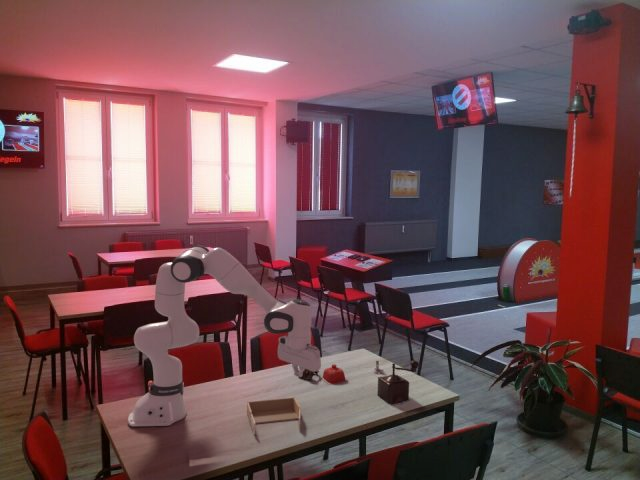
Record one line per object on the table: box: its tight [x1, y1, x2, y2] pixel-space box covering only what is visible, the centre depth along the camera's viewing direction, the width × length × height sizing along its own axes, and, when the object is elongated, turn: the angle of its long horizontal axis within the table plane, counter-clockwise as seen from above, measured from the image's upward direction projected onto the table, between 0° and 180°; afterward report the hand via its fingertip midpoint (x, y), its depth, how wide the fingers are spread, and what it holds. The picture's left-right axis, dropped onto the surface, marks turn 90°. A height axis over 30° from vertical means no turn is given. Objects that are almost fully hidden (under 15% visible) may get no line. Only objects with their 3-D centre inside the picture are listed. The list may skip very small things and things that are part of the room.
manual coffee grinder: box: [377, 360, 420, 405], centre depth 220 cm, size 16×11×18 cm
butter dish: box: [322, 363, 348, 385], centre depth 241 cm, size 12×12×8 cm
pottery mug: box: [297, 369, 319, 381], centre depth 243 cm, size 12×9×8 cm
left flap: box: [249, 413, 256, 435], centre depth 189 cm, size 9×1×4 cm, turn 16°
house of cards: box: [373, 360, 384, 375], centre depth 249 cm, size 9×9×8 cm
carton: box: [246, 396, 301, 426], centre depth 201 cm, size 20×10×5 cm, turn 106°
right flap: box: [298, 407, 302, 430], centre depth 194 cm, size 9×1×4 cm, turn 1°
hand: (298, 375), depth 194 cm, fingers closed
